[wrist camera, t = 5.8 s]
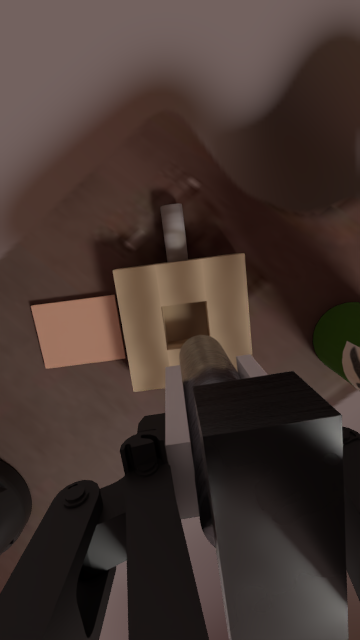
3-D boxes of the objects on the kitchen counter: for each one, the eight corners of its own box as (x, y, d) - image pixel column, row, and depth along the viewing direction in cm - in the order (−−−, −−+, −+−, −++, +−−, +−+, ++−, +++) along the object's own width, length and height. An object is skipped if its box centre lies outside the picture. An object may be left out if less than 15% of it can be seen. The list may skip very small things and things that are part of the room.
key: (187, 411, 21) (231, 740, 7) (170, 304, 19) (185, 438, 5) (229, 404, 21) (363, 717, 7) (217, 297, 19) (359, 412, 5)
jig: (137, 377, 39) (133, 391, 35) (110, 215, 34) (102, 210, 30) (245, 364, 39) (254, 376, 35) (232, 199, 34) (239, 192, 30)
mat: (47, 366, 38) (45, 368, 37) (33, 305, 36) (30, 306, 36) (126, 356, 38) (125, 358, 37) (115, 294, 36) (114, 295, 36)
